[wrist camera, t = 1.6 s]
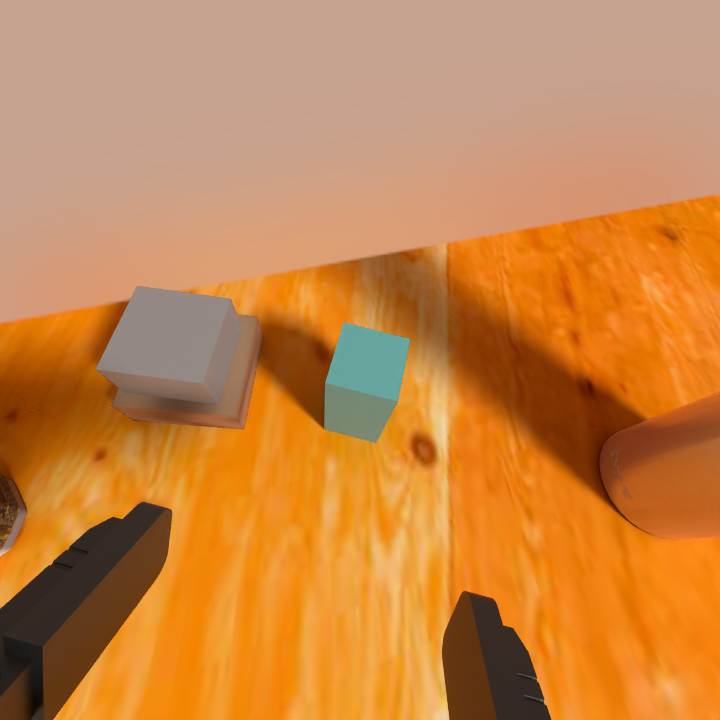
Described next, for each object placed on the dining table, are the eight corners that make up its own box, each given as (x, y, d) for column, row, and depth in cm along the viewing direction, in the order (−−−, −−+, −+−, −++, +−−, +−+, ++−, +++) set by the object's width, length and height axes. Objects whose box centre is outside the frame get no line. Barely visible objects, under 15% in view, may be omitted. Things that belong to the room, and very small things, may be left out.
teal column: (386, 394, 33) (410, 339, 24) (376, 442, 31) (397, 401, 22) (338, 382, 33) (343, 322, 24) (324, 429, 31) (324, 382, 22)
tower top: (241, 327, 31) (231, 298, 27) (218, 404, 28) (202, 383, 24) (158, 316, 31) (137, 285, 27) (124, 392, 27) (95, 369, 24)
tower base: (263, 339, 35) (257, 316, 32) (245, 430, 31) (235, 415, 27) (168, 330, 35) (150, 306, 31) (136, 422, 30) (111, 405, 27)
